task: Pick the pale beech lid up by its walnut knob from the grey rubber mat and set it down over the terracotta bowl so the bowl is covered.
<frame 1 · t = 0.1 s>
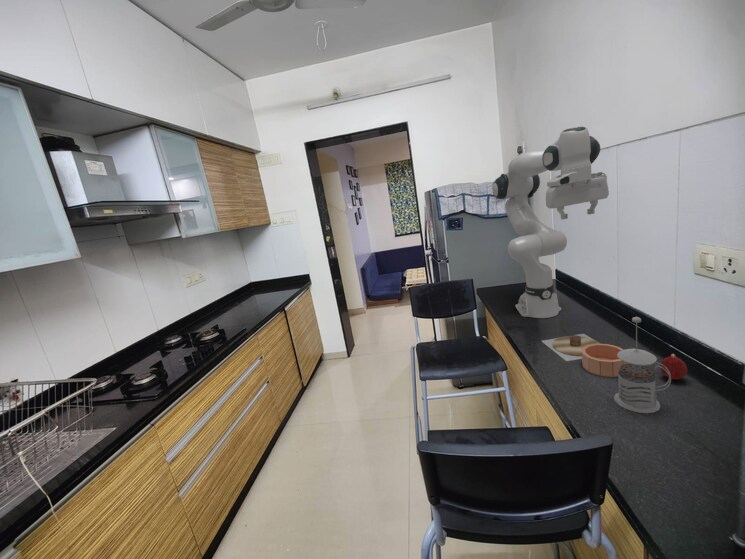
hand: (577, 216, 112), 48 cm above the table, fingers open, 8 cm apart
french press: (640, 402, 86), on the table
pomegranate: (672, 379, 92), on the table
mat: (575, 347, 118), on the table
lid: (575, 346, 118), resting on mat
bowl: (604, 367, 103), on the table
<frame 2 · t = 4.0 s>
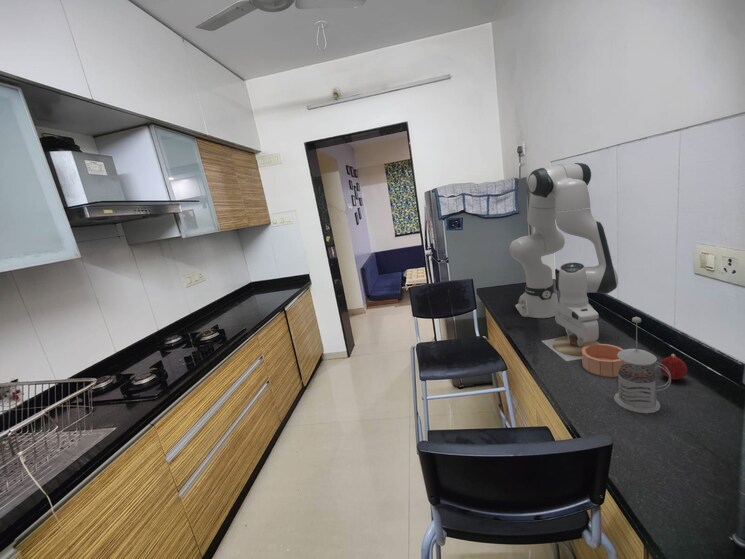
hand: (575, 342, 117), 2 cm above the table, fingers closed on lid, 3 cm apart
lid: (575, 346, 118), resting on mat, touching gripper
everything else where it was.
when the fingers open (8 cm above the table, at t = 8.8 s): lid drops 1 cm, resting on bowl.
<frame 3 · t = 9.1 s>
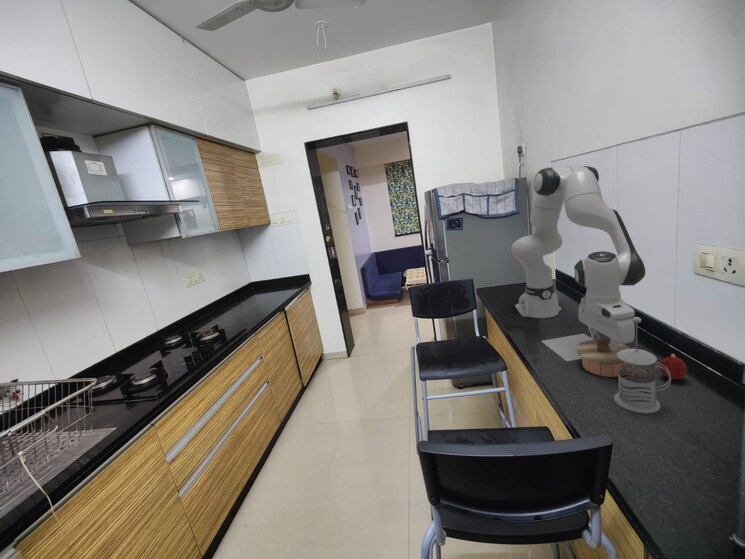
hand: (603, 344, 101), 8 cm above the table, fingers open, 6 cm apart
lid: (604, 352, 102), point 5 cm above the table, touching bowl
everything else where it was.
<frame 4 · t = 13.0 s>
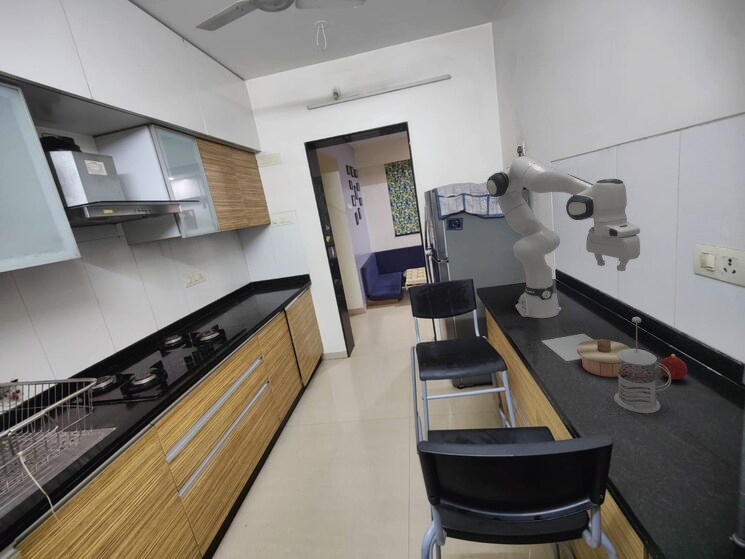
hand: (610, 267, 109), 29 cm above the table, fingers open, 8 cm apart
nothing on the table moved.
at the end: lid 0.0 cm off-centre on the bowl, point 5.5 cm above the bowl's base; lid tilted 0°; the gripper is holding nothing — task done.
